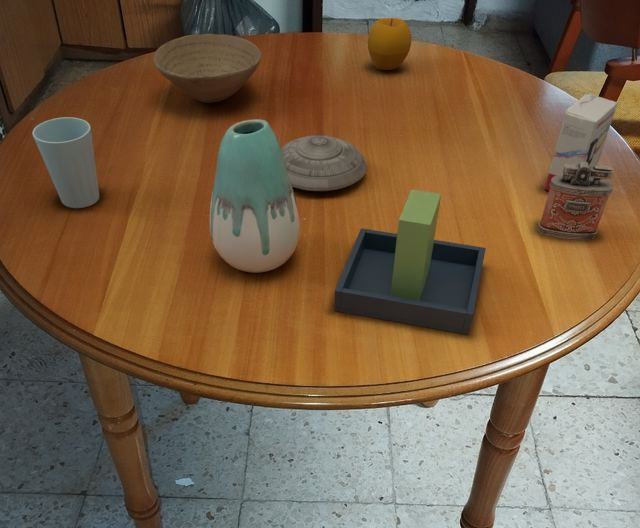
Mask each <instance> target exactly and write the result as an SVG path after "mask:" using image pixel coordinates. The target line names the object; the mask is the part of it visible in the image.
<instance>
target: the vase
mask: <svg viewBox="0 0 640 528" xmlns="http://www.w3.org/2000/svg"><path fill="white" fill-rule="evenodd" d="M281 148H282V147H281V145H280V142H279V140H278V137H277V135H276V132H275V131H274V129H273V128H272V126H271V125H270V123H269V122H268V121H266V120H264V119H260V118H257V119H246V120H241V121H238V122H236V123H234V124H232V125H231V126H230V127H228V128H227V129H226V131H225V132H224V134H223V136H222V138H221V141H220V143H219V148H218V152H217V159H216V169H215V176H214V181H213V182H214V183H213V187H212V191H211V196H210V197H211V199H210V206H209V233H210V238H211V241H212V243H213V246H214V248H215V250H216V252H217V254H218V255H219V256H220V258H222V260H224V262H226V263H227V264H228V265H229V266H231V267H232V268H234V269H236V270H239V271H242V272H247V273H266V272H269V271H273V270H275V269H277V268H280V267H282V266H283V265H284V264H285V263H286V262H287V261H288V260H289V259H290V258H291V257H292V255H293V254H294V253H295V251H296V249H297V246H298V243H299V240H300V235H301V220H300V212H299V206H298V203H297V198H296V195H295V192H294V187H292V185H291V183H290V180H289V177H288V174H287V170H286V166H285V162H284V158H283V155H282V151H281Z"/></svg>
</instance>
